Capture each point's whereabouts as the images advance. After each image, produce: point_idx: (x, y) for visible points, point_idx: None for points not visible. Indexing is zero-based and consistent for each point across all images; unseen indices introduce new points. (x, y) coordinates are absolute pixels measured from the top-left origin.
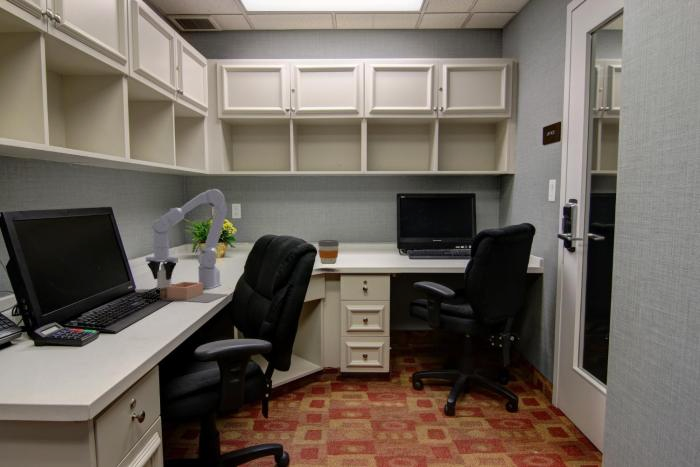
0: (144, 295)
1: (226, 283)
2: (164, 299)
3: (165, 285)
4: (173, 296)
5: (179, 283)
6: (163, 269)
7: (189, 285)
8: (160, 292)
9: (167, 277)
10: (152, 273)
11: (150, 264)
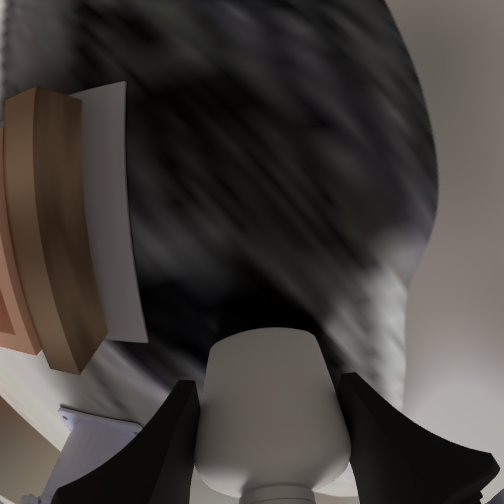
0: (302, 163)
1: None
2: None
3: (230, 355)
4: None
5: (3, 285)
6: (260, 489)
7: (1, 318)
8: (53, 92)
9: (170, 394)
10: (388, 404)
11: (453, 483)
